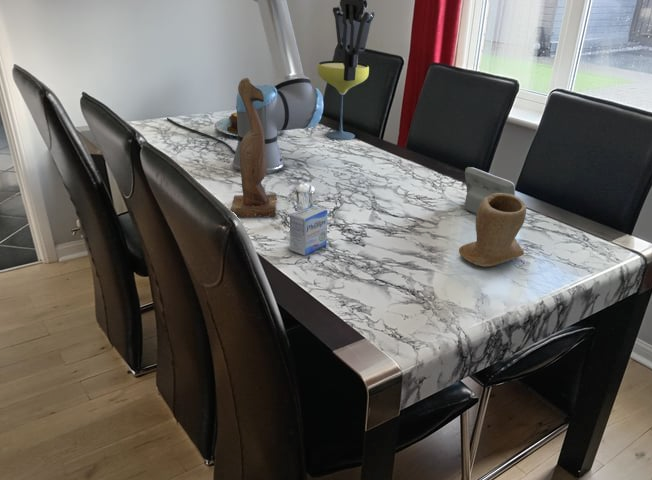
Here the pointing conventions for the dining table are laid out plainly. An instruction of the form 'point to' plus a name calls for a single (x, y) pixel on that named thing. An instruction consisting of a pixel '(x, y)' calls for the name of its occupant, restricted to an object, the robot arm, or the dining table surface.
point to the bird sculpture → (253, 161)
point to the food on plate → (229, 125)
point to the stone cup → (496, 231)
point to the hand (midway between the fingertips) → (349, 80)
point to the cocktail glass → (341, 87)
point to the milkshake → (304, 196)
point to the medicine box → (308, 230)
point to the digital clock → (483, 187)
